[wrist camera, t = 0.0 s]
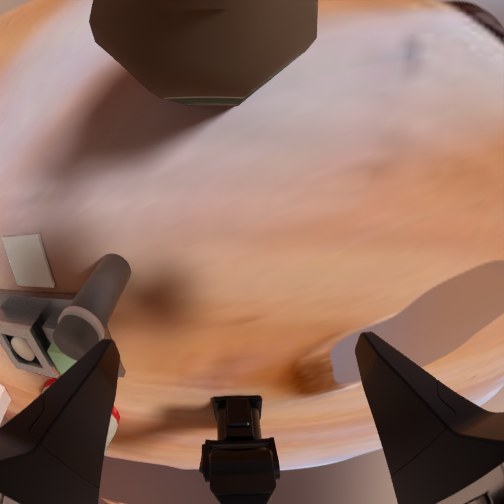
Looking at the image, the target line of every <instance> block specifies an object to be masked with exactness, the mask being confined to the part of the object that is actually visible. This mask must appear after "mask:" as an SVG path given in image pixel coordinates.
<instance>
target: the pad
mask: <svg viewBox="0 0 504 504" xmlns="http://www.w3.org/2000/svg"><path fill="white" fill-rule="evenodd" d="M2 241H3V244H4V247H5V251H6V254H7V257H8V260H9V263H10V266H11V268H12V271H13V274H14V277H15V279H16V282H17V284H18V286H31V287H51V288H54V287H55V286H56V285H55V282H54V279H53V276H52V273H51V270H50V267H49V264H48V261H47V258H46V254H45V251H44V247H43V244H42V240H41V236H40V233H38V234H25V235H12V236H3V237H2Z"/></svg>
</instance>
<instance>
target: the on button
mask: <svg viewBox="0 0 504 504" xmlns="http://www.w3.org/2000/svg"><path fill="white" fill-rule="evenodd" d="M47 352H48V354H49V356H50V357H51V359H52V361H53V362H54V364H55V366H56V367H57V369H58V370H59V372H60V374H61V375H62V374H63V373H64V372H66V371H67V370H68V369H69V368H70V367H71V366H72V365H73V364H74V363H76V362H77V361H76V360H74V359H71V358H69V357H68V356H66V355H65V354H64V353H62V352H61V351H60V350H59V348H58V347H57V346H56V344H55V343H54V340H53V342H52V344H51V345H50V347H49V349H48V351H47Z"/></svg>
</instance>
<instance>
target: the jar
mask: <svg viewBox="0 0 504 504" xmlns="http://www.w3.org/2000/svg"><path fill="white" fill-rule="evenodd" d="M10 401H11V397H10V395H9V393H8V392H7V390H6V388H5V387H4V386H3V385H2V384H0V424H1V422H2V419H3V417H4V414H5V412H6V410H7V407H8V405H9V403H10Z"/></svg>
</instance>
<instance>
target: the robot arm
mask: <svg viewBox="0 0 504 504" xmlns="http://www.w3.org/2000/svg"><path fill="white" fill-rule="evenodd" d="M355 354H356V358H357V363H358V367H359V371H360V376H361V380H362V385H363V388H364V391H365V394H366V397H367V400H368V403H369V406H370V409H371V412H372V415H373V418H374V422H375V425H376V428H377V431H378V434H379V437H380V441H381V444H382V447H383V451H384V454H385V457H386V461H387V464H388V468H389V471H390V475H391V479H392V483H393V487H394V490H395V494H396V498H397V502H398V504H504V412H503V413H495V412H489V411H487V410H484V409H482V408H481V407H479V406H477V405H476V404H474V403H472V402H471V401H469V400H467V399H466V398H464V397H462V396H461V395H459V394H457V393H456V392H454V391H453V390H451V389H450V388H448V387H447V386H446V385H444V384H443V383H441V382H440V381H439V380H437V379H436V378H435V377H433V376H432V375H430V374H429V373H428V372H426V371H425V370H424V369H422V368H421V367H420V366H418V365H417V364H415V363H414V362H413V361H411V360H410V359H409V358H407V357H406V356H404V355H403V354H402V353H400V352H399V351H398V350H396V349H395V348H394V347H392V346H391V345H389V344H388V343H387V342H385V341H384V340H383V339H381V338H380V337H379V336H377V335H376V334H374V333H373V332H371V331H370V332H362V333H361V334H360V336H359V339H358V342H357V345H356V348H355ZM119 364H120V354H119V352H118V349H117V347H116V344H115V342H114V340H113V339H105V338H104V339H102V340H100V341H99V342H98V343H97V344H96V345H95V346H93V347H92V348H91V349H90V350H89V351H88V352H87V353H86V354H84V355H83V356H82V357H81V358H80V359H79V360H78V361H77V362H76V363H74V364H73V365H72V366H71V367H70V368H69V369H68V370H67V371H66V372H64V373H63V374H62V375H61V376H60V377H59V378H58V379H57V380H56V381H55V382H54V383H52V384H51V385H50V386H49V387H48V388H47V389H46V390H45V391H44V392H43V393H42V394H40V395H39V396H38V397H37V398H36V399H35V400H34V401H33V402H32V403H31V404H30V405H28V406H27V407H26V408H25V409H23V410H22V411H21V412H20V413H19V414H17V415H16V416H15V417H13V418H12V419H11V420H9V421H8V422H7V423H6V424H4V425H3V426H2V427H0V504H98V498H99V488H100V480H101V472H102V465H103V458H104V452H105V446H106V441H107V435H108V430H109V425H110V420H111V415H112V410H113V405H114V401H115V396H116V389H117V380H118V372H119ZM213 406H214V412H215V417H216V421H217V433H218V440H206V441H205V444H203V445H202V456H201V462H200V467H199V471H200V473H202V474H203V476H204V478H205V481H206V483H210V490H211V492H212V494H213V496H214V498H215V500H216V501H217V502H218V504H269V502H270V500H271V498H272V497H273V494H274V491H275V488H276V480H279V478H280V468H279V460H278V455H277V451H276V446H275V442H274V437H271V438H266V439H262V438H261V429H260V419H261V407H262V397H260V396H253V397H221V398H213Z"/></svg>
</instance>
